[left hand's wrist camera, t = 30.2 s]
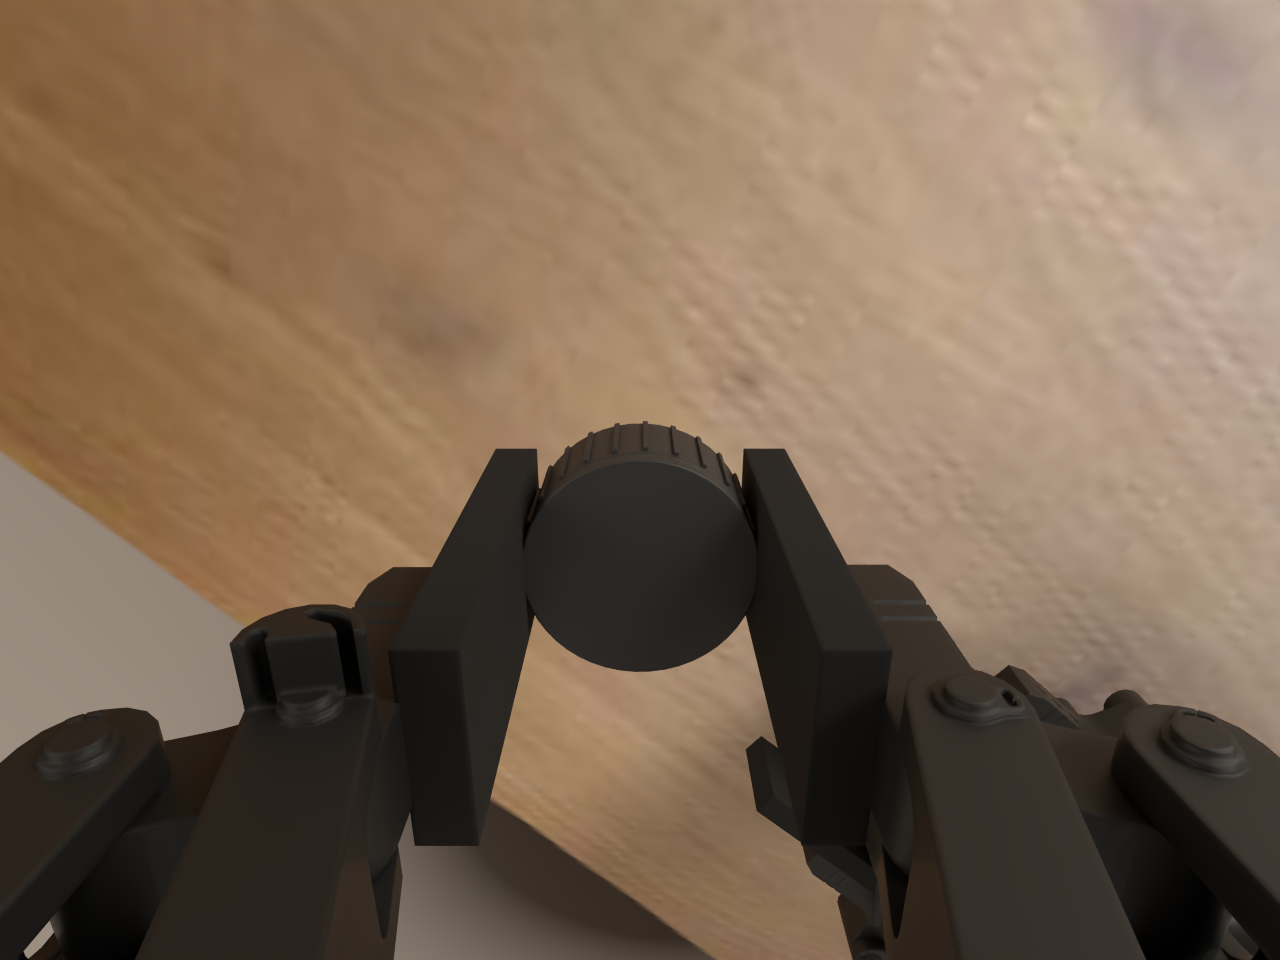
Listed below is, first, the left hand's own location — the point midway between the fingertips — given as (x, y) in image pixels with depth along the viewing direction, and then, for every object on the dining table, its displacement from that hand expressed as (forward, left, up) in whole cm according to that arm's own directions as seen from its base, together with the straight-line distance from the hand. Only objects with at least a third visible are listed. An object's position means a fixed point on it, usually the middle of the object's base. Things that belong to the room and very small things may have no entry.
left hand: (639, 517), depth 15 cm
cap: (0, 0, +2) cm, 2 cm away
